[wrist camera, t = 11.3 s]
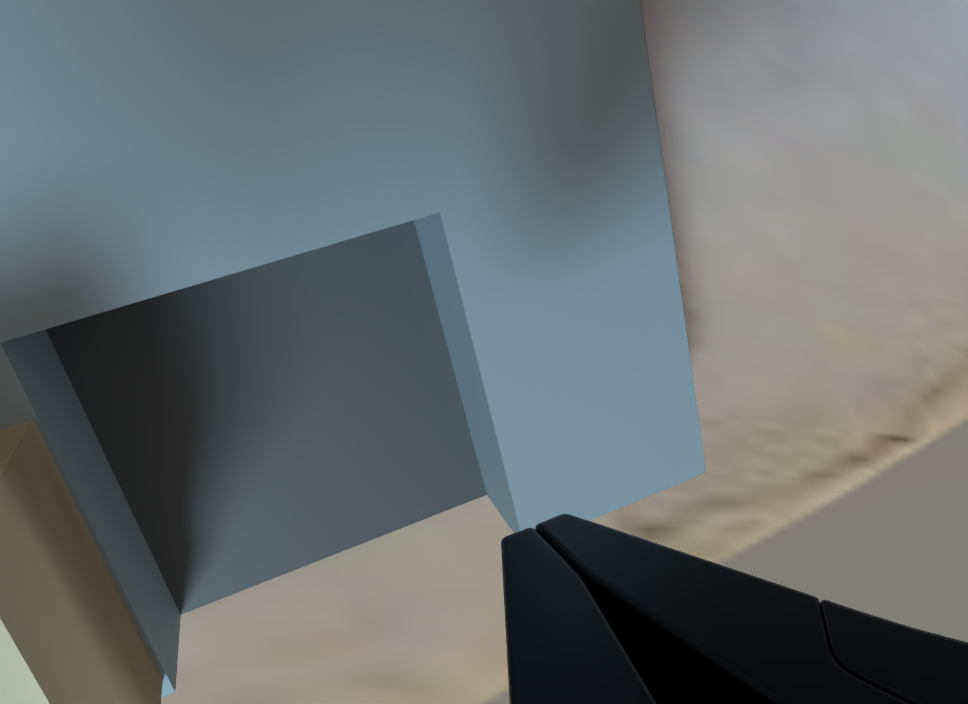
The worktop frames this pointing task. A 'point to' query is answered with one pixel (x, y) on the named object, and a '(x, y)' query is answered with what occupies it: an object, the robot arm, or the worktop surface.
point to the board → (333, 275)
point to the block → (59, 594)
